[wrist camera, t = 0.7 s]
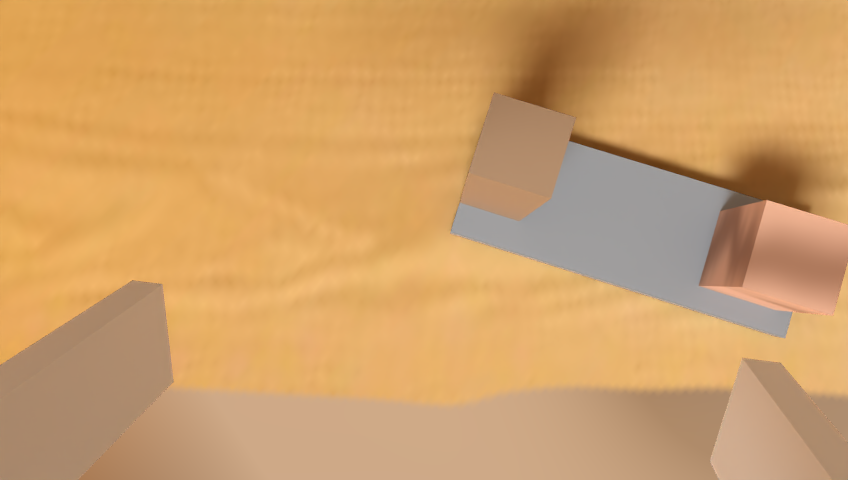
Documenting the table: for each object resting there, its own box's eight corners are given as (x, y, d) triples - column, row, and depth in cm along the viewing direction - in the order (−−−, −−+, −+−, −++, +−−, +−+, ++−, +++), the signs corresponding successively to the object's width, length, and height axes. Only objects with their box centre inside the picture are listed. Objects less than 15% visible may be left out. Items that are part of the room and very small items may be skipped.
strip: (486, 120, 37) (506, 53, 26) (807, 219, 36) (971, 192, 25) (450, 233, 36) (455, 213, 25) (775, 336, 35) (927, 362, 24)
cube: (719, 211, 35) (767, 199, 30) (796, 234, 35) (857, 227, 30) (698, 285, 35) (742, 286, 30) (776, 310, 34) (833, 315, 29)
